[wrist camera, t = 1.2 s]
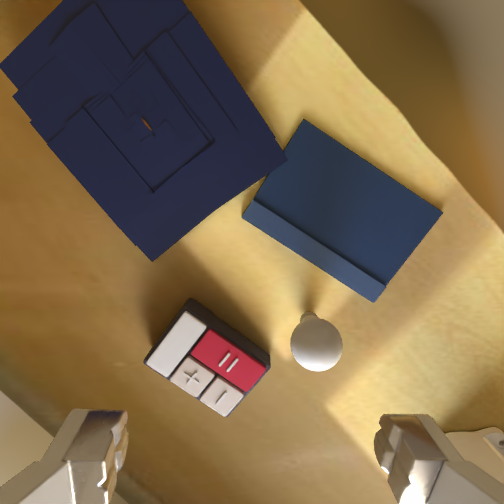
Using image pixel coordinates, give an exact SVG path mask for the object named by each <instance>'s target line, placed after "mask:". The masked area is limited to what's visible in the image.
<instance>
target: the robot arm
mask: <svg viewBox="0 0 504 504" xmlns="http://www.w3.org/2000/svg"><path fill="white" fill-rule="evenodd" d="M127 421H128V416H127V411H125V410H103V409H73V410H72V411H71V412H70V413H69V414H68V416H67V418H66V419H65V421H64V423H63V424H62V426H61V428H60V429H59V431H58V433H57V434H56V436H55V438H54V439H53V441H52V443H51V444H50V446H49V448H48V450H47V451H46V453H45V454H44V456H43V458H42V459H41V461H40V462H39V461H38V462H33V463H32V464H31V465H29V466H28V467H27V468H25V469H24V470H22V471H21V472H20V473H18V474H17V475H16V476H14V477H13V478H12V479H10V480H9V481H8V482H6V483H5V484H4V485H2V486H1V487H0V504H110V502H111V499H112V496H113V493H114V490H115V487H116V484H117V478H116V473H117V472H118V471H119V470H120V469H121V468H122V466H123V463H124V460H125V456H126V451H127V447H128V430H127V429H126V428H125V426H126V423H127ZM379 424H380V426H381V429H380V430H379V431H378V432H377V433H376V435H375V439H374V450H375V454H376V458H377V460H378V462H379V464H380V467H382V468H383V469H384V470H385V471H386V472H387V473H388V474H389V475H388V483H389V485H390V487H391V490H392V492H393V494H394V496H395V498H396V500H397V502H398V504H504V433H503V432H502V431H501V430H500V429H499V428H497V427H489V428H485V429H482V430H479V431H475V432H450V433H445V434H444V432H443V431H442V430H441V428H440V427H439V426H438V424H437V423H436V422H435V421H434V419H433V418H432V417H431V416H429V415H428V414H413V415H412V414H383V415H382V416H381V418H380V421H379Z"/></svg>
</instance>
